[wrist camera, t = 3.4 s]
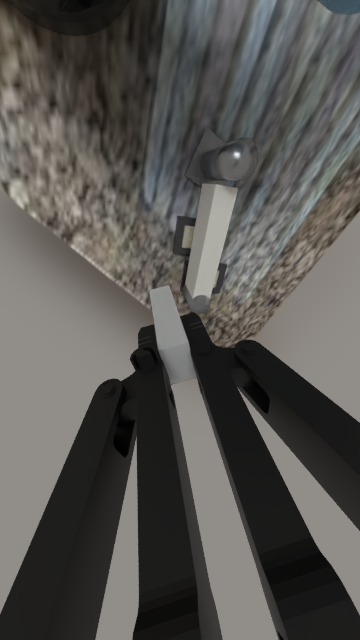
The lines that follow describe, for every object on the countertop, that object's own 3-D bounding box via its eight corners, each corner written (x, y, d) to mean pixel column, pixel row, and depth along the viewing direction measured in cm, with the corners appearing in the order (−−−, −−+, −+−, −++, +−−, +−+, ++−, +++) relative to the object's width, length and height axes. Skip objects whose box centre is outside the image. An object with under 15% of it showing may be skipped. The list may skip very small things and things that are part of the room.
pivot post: (184, 175, 25) (204, 173, 18) (204, 128, 23) (237, 104, 16) (215, 197, 27) (245, 203, 20) (237, 156, 25) (279, 146, 18)
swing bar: (200, 183, 24) (213, 183, 20) (223, 187, 25) (240, 188, 21) (181, 296, 33) (188, 313, 29) (198, 297, 33) (207, 313, 29)
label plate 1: (172, 252, 30) (173, 253, 30) (177, 215, 28) (178, 216, 27) (215, 256, 32) (217, 257, 31) (224, 222, 29) (225, 223, 29)
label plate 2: (180, 289, 34) (181, 291, 33) (184, 260, 31) (185, 261, 31) (218, 291, 36) (219, 293, 35) (225, 264, 33) (227, 265, 32)
